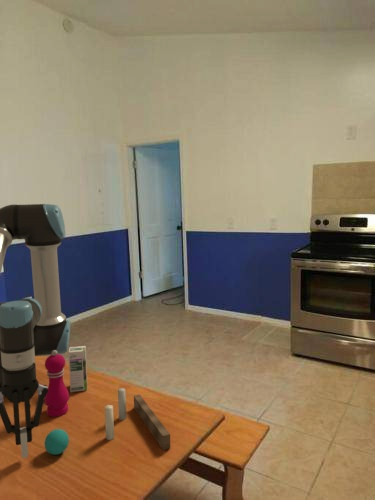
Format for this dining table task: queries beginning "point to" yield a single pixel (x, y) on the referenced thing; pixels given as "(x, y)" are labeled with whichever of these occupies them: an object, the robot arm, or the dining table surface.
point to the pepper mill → (56, 386)
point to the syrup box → (77, 368)
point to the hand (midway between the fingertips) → (24, 454)
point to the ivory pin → (109, 422)
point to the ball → (56, 441)
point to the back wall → (152, 422)
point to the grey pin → (122, 403)
